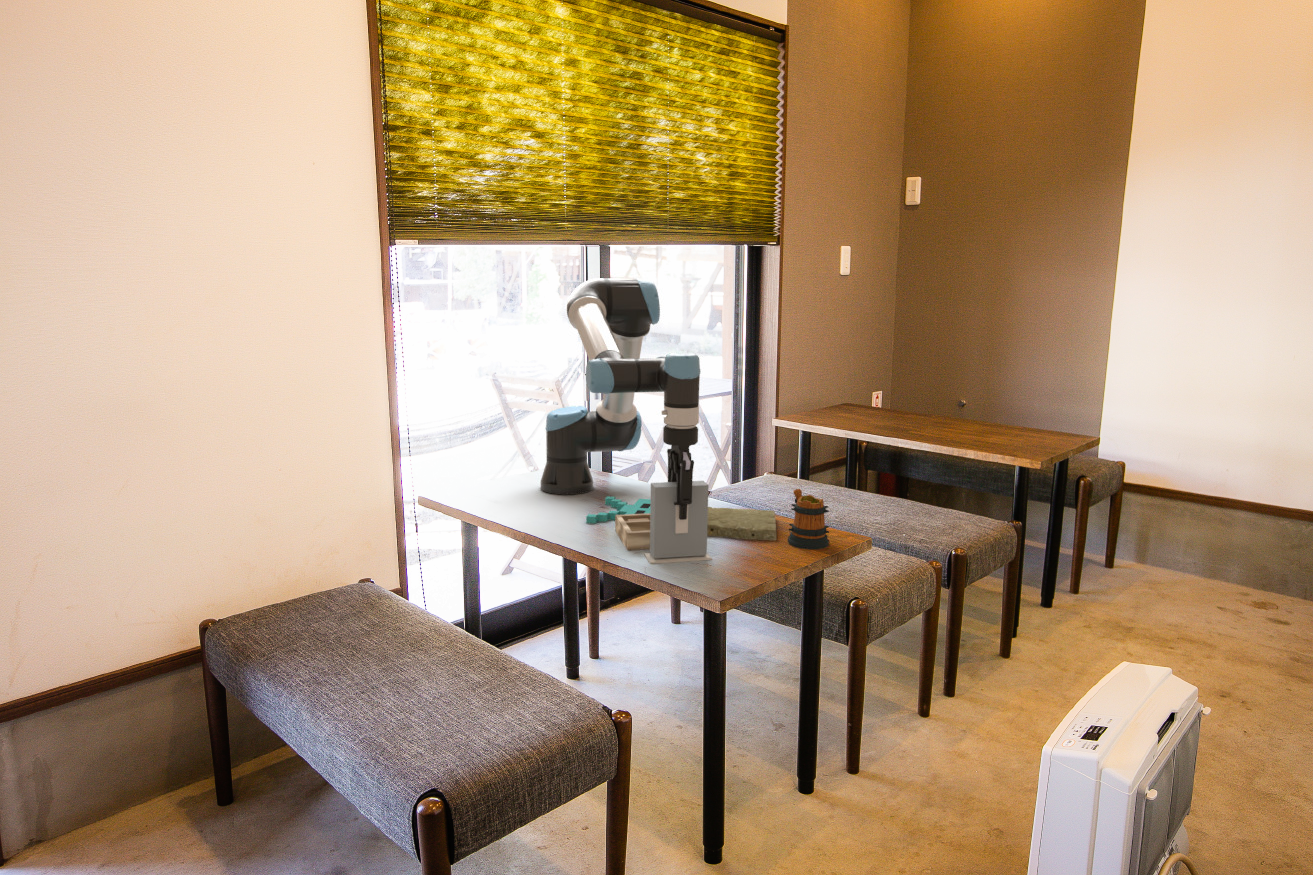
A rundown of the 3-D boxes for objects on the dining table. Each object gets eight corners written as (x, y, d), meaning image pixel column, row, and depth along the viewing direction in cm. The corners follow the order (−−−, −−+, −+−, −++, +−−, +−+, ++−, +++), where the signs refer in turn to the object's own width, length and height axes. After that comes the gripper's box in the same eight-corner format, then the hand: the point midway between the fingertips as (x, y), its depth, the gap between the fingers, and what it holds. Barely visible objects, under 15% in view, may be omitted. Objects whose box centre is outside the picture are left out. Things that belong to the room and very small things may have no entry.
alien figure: (586, 524, 220) (664, 530, 216) (586, 516, 220) (664, 522, 215) (607, 504, 239) (679, 509, 235) (607, 496, 239) (679, 501, 235)
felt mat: (644, 554, 196) (644, 553, 196) (704, 551, 200) (704, 549, 199) (650, 563, 191) (650, 561, 190) (712, 559, 194) (712, 558, 194)
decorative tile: (697, 517, 228) (697, 504, 227) (775, 521, 226) (775, 507, 225) (692, 539, 210) (693, 525, 209) (777, 543, 208) (778, 528, 207)
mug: (838, 548, 203) (840, 499, 201) (797, 551, 201) (800, 502, 198) (812, 531, 216) (815, 486, 213) (774, 534, 213) (776, 488, 211)
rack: (615, 530, 214) (615, 514, 213) (686, 526, 218) (686, 511, 217) (627, 550, 199) (627, 533, 199) (703, 545, 204) (704, 528, 203)
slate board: (649, 552, 195) (650, 482, 192) (701, 549, 198) (703, 480, 195) (653, 558, 192) (654, 487, 189) (706, 555, 194) (708, 485, 191)
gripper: (654, 419, 197) (653, 519, 201) (673, 433, 180) (671, 542, 185) (687, 418, 198) (684, 517, 203) (708, 432, 182) (705, 540, 187)
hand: (678, 529), depth 194 cm, fingers closed on slate board, 4 cm apart
